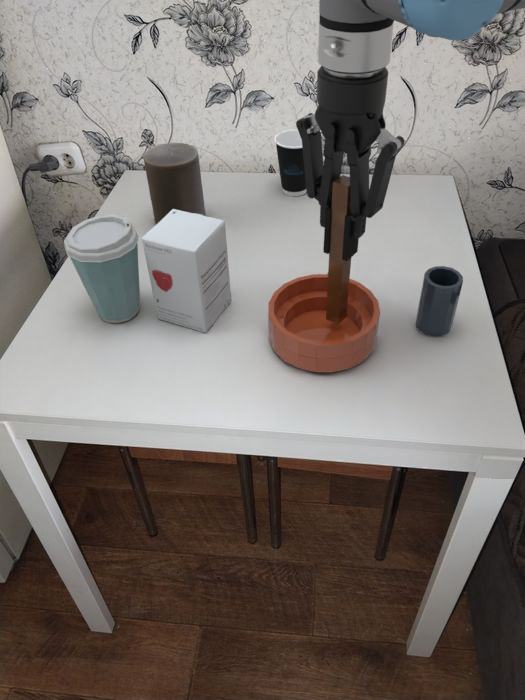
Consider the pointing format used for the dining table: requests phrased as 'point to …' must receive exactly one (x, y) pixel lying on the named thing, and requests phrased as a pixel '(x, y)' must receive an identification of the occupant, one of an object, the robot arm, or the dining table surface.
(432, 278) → the gray pipe section
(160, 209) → the pillar candle
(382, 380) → the dining table surface
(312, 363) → the bowl
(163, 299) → the rectangular carton
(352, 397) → the dining table surface
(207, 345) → the dining table surface
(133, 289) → the disposable coffee cup
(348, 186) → the stirring stick
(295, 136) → the dixie cup
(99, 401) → the dining table surface
